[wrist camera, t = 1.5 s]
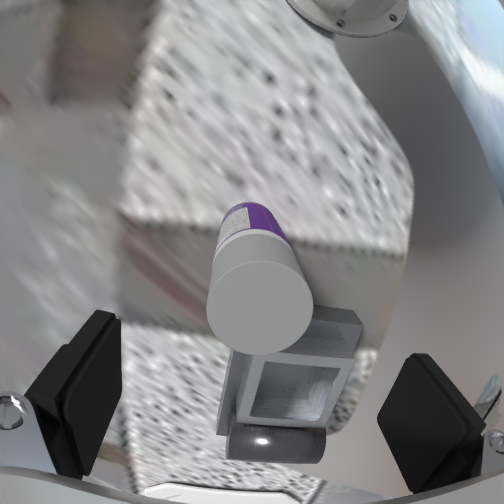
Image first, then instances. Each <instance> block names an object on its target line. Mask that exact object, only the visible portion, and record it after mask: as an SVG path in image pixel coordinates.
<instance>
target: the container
mask: <svg viewBox="0 0 504 504" xmlns="http://www.w3.org/2000/svg"><path fill="white" fill-rule="evenodd" d="M312 315H313V297H312V294H311V291H310V288H309V286H308V284H307V281H306V279H305V277H304V275H303V272H302V270H301V268H300V266H299V264H298V261H297V259H296V257H295V254H294V252H293V250H292V248H291V246H290V245H289V243H288V241H287V239H286V237H285V236H284V234H283V232H282V230H281V229H280V227H279V225H278V223H277V221H276V220H275V218H274V216H273V215H272V213H271V212H270V211H269V210H268V209H267V208H266V207H264V206H263V205H261V204H258V203H254V202H244V203H240V204H238V205H236V206H234V207H232V208H231V209H230V210H229V211H228V212H227V214H226V215H225V217H224V219H223V222H222V225H221V230H220V234H219V238H218V242H217V246H216V251H215V255H214V259H213V264H212V271H211V278H210V285H209V292H208V300H207V318H208V322H209V325H210V327H211V329H212V331H213V332H214V334H215V335H216V336H217V338H218V339H219V340H220V341H221V342H222V343H224V344H225V345H226V346H228V347H229V348H231V349H233V350H235V351H238V352H241V353H244V354H249V355H268V354H273V353H276V352H279V351H282V350H284V349H286V348H288V347H289V346H291V345H292V344H294V343H295V342H296V341H297V340H298V339H299V338H300V337H301V336H302V335H303V334H304V333H305V331H306V330H307V328H308V326H309V324H310V322H311V319H312Z"/></svg>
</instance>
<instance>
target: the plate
mask: <svg viewBox="0 0 504 504" xmlns="http://www.w3.org/2000/svg"><path fill="white" fill-rule="evenodd" d="M144 496H147V497H152V498H157V499H163V500H169V501H175V502H181V503H188V504H300V502H299V501H297V500H296V499H294V498H292V497H290V496H289V495H287V494H285V493H276V492H250V491H234V490H222V489H212V488H204V487H196V486H189V485H182V484H175V483H164V484H160V485H156V486H152V487H148V488H146V489H145V490H144Z"/></svg>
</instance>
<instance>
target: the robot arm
mask: <svg viewBox="0 0 504 504" xmlns="http://www.w3.org/2000/svg"><path fill="white" fill-rule="evenodd" d="M287 1H288V2H289V3H290V5H291V6H292V7H293V8H294V9H295V10H296V11H297V12H298V13H300V14H301V15H302V16H303V17H304V18H306V19H307V20H309V21H310V22H312V23H313V24H315V25H317V26H319V27H321V28H323V29H325V30H327V31H330V32H333V33H336V34H339V35H344V36H349V37H358V38H368V37H376V36H379V35H382V34H385V33H387V32H389V31H390V30H392V29H393V28H395V27H396V26H397V25H399V24H400V23H401V21H402V20H403V18H404V17H405V15H406V12H407V9H408V0H287ZM337 25H339V26H340V27H339V26H337ZM121 393H122V370H121V321H120V319H116V316H115V314H114V313H110V312H106V311H102V310H96V311H95V312H94V313H93V314H92V315H91V317H90V318H89V319H88V320H87V322H86V323H85V324H84V325H83V326H82V328H81V329H80V330H79V331H78V333H77V334H76V335H75V336H74V338H73V339H72V340H71V341H70V343H69V344H64V345H63V346H61V347H60V349H59V350H58V351H57V352H56V354H55V355H54V356H53V357H52V359H51V360H50V361H49V363H48V364H47V365H46V366H45V368H44V369H43V370H42V372H41V373H40V374H39V376H38V377H37V378H36V380H35V381H34V382H33V383H32V385H31V386H30V388H29V389H28V390H27V392H26V393H25V394H24V396H22V395H20V394H18V393H14V392H0V504H188V503H181V502H175V501H169V500H163V499H157V498H152V497H147V496H142V495H137V494H133V493H128V492H124V491H120V490H116V489H112V488H108V487H105V486H100V485H96V484H92V483H89V482H85V481H81V480H82V477H83V475H85V476H89V474H90V472H91V470H92V467H93V465H94V462H95V459H96V457H97V454H98V451H99V449H100V446H101V444H102V441H103V439H104V436H105V434H106V431H107V429H108V426H109V424H110V421H111V419H112V416H113V414H114V411H115V409H116V406H117V404H118V402H119V399H120V397H121ZM377 422H378V425H379V427H380V429H381V431H382V433H383V435H384V437H385V439H386V442H387V443H388V445H389V448H390V450H391V452H392V454H393V456H394V459H395V460H396V463H397V465H398V467H399V469H400V471H401V474H402V476H403V478H404V480H405V482H406V485H407V487H408V489H409V490H410V491H411V492H413V495H409V496H405V497H400V498H394V499H389V500H384V501H378V502H372V503H365V504H504V432H502V431H500V430H496V429H493V430H489V431H487V432H486V433H485V434H484V436H483V437H482V436H481V432H482V431H483V430H484V428H485V427H486V424H485V422H484V421H483V420H482V419H481V417H480V416H479V415H478V413H477V412H476V411H475V410H474V408H473V407H472V406H471V405H470V403H469V402H468V401H467V400H466V398H465V397H464V396H463V395H462V394H461V392H460V391H459V390H458V389H457V388H456V386H455V385H454V384H453V383H452V381H451V380H450V379H449V378H448V377H447V375H446V374H445V373H444V372H443V371H442V370H441V368H440V367H439V366H438V365H437V364H436V362H435V361H434V360H433V359H432V358H431V357H430V356H429V355H428V354H420V353H414V354H412V355H410V357H408V358H407V359H406V360H405V362H404V364H403V367H402V369H401V371H400V373H399V375H398V377H397V379H396V381H395V383H394V385H393V387H392V389H391V391H390V393H389V395H388V397H387V399H386V400H385V402H384V404H383V406H382V408H381V410H380V411H379V413H378V416H377Z"/></svg>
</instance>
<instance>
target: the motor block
mask: <svg viewBox="0 0 504 504" xmlns="http://www.w3.org/2000/svg"><path fill="white" fill-rule="evenodd" d="M363 326H364V325H363V324H362V322H361V321H360V319H359V318H358V316H357V315H356V313H355V312H354V311H353V310H345V309H338V308H330V307H323V306H316V305H313V315H312V319H311V322H310V324H309V326H308V328H307V330H306V331H305V333H304V334H303V335H302V336H301V337H300V338H299V339H298V340H297V341H296V342H295V343H294V344H292V345H291V346H289V347H288V348H286V349H284V350H282V351H279V352H276V353H273V354H268V355H249V354H244V353H241V352H238V351H235V350H233V349H231V351H230V356H229V361H228V366H227V371H226V376H225V381H224V386H223V391H222V395H221V400H220V405H219V410H218V415H217V430H216V435H221V436H227V438H226V459H227V460H237V461H249V462H264V463H289V464H291V463H292V464H314V463H315V464H316V463H318V462H319V461H320V460H321V458H322V457H323V454H324V451H325V445H326V430H325V425H326V423H327V421H328V419H329V417H330V415H331V413H332V411H333V409H334V406H335V404H336V402H337V400H338V398H339V396H340V394H341V391H342V389H343V387H344V385H345V382H346V380H347V378H348V376H349V373H350V371H351V369H352V366H353V364H354V361H355V358H354V356H353V352H354V349H355V347H356V344H357V342H358V339H359V337H360V334H361V331H362V329H363Z"/></svg>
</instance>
